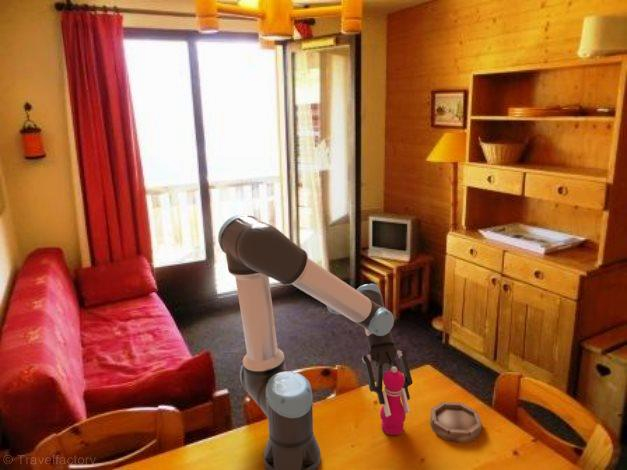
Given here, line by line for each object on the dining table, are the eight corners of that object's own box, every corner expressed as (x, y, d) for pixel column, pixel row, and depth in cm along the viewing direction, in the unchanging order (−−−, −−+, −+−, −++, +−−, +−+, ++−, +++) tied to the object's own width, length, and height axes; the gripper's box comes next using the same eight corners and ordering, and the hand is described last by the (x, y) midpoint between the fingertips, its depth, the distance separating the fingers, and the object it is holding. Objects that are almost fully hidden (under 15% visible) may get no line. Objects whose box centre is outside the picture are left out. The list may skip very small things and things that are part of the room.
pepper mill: (404, 437, 131) (407, 375, 126) (379, 434, 133) (380, 372, 127) (405, 421, 138) (407, 361, 133) (380, 418, 139) (381, 359, 134)
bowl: (433, 440, 130) (433, 431, 129) (428, 409, 143) (428, 400, 143) (485, 444, 128) (486, 434, 127) (475, 412, 142) (475, 403, 141)
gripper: (402, 334, 146) (423, 411, 135) (347, 341, 142) (364, 421, 131) (410, 326, 140) (432, 406, 128) (352, 333, 136) (370, 417, 125)
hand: (398, 414), depth 130 cm, fingers closed on pepper mill, 5 cm apart
